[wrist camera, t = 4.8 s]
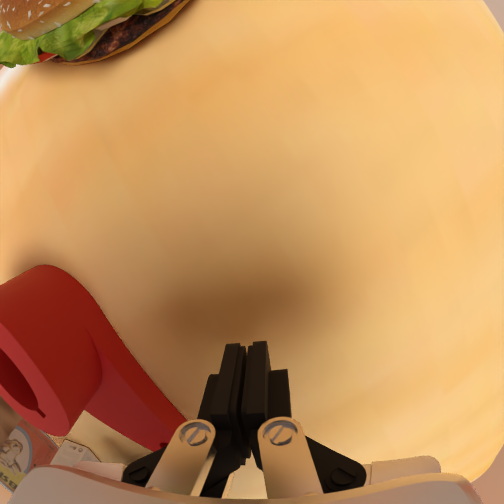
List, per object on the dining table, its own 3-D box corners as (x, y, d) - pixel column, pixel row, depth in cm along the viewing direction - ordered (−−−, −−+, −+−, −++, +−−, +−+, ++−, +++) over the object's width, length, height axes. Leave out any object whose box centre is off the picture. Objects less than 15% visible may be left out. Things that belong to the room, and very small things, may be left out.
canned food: (62, 443, 22) (26, 503, 10) (64, 465, 25) (38, 513, 13) (1, 393, 21) (-41, 441, 9) (12, 425, 24) (-19, 466, 12)
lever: (13, 308, 16) (-37, 344, 10) (47, 235, 14) (-29, 267, 7) (159, 449, 19) (140, 505, 13) (234, 422, 17) (223, 498, 11)
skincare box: (64, 437, 21) (25, 502, 9) (89, 447, 21) (50, 519, 9) (86, 463, 22) (56, 523, 11) (111, 472, 22) (82, 538, 11)
